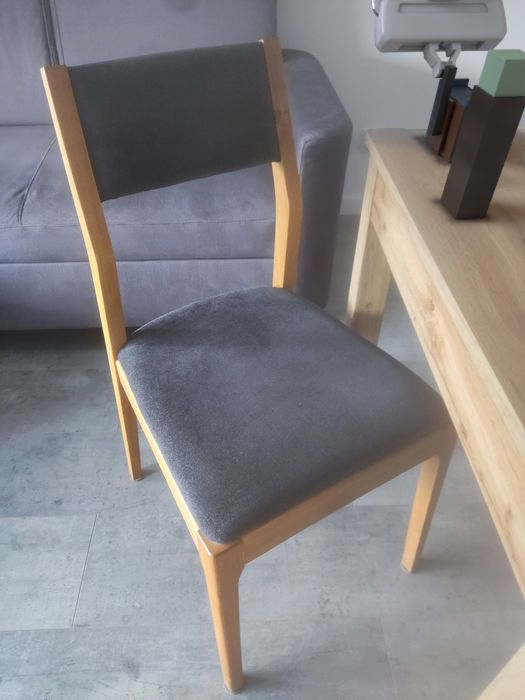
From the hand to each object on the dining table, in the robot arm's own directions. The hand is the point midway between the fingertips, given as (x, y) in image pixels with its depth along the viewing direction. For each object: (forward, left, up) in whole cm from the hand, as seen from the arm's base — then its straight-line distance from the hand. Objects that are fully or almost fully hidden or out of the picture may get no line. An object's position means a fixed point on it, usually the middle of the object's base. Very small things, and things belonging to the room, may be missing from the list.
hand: (444, 76), depth 80 cm
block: (+3, +20, +4) cm, 20 cm away
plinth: (+3, +20, -12) cm, 23 cm away
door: (0, 0, -11) cm, 11 cm away
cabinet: (-4, 0, -12) cm, 13 cm away
